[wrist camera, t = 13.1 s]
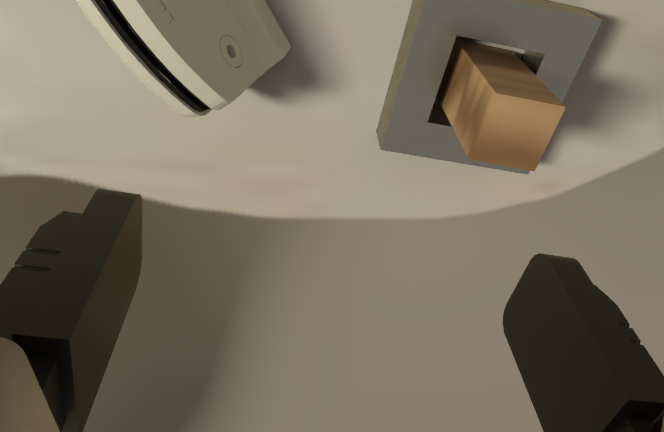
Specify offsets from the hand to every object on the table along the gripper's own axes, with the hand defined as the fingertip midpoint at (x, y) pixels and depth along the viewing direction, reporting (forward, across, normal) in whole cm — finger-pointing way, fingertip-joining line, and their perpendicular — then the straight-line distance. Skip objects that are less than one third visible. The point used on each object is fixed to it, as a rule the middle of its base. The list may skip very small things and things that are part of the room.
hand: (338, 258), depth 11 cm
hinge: (+30, +9, +2) cm, 32 cm away
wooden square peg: (+30, -13, +5) cm, 33 cm away
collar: (+30, -13, +5) cm, 33 cm away
